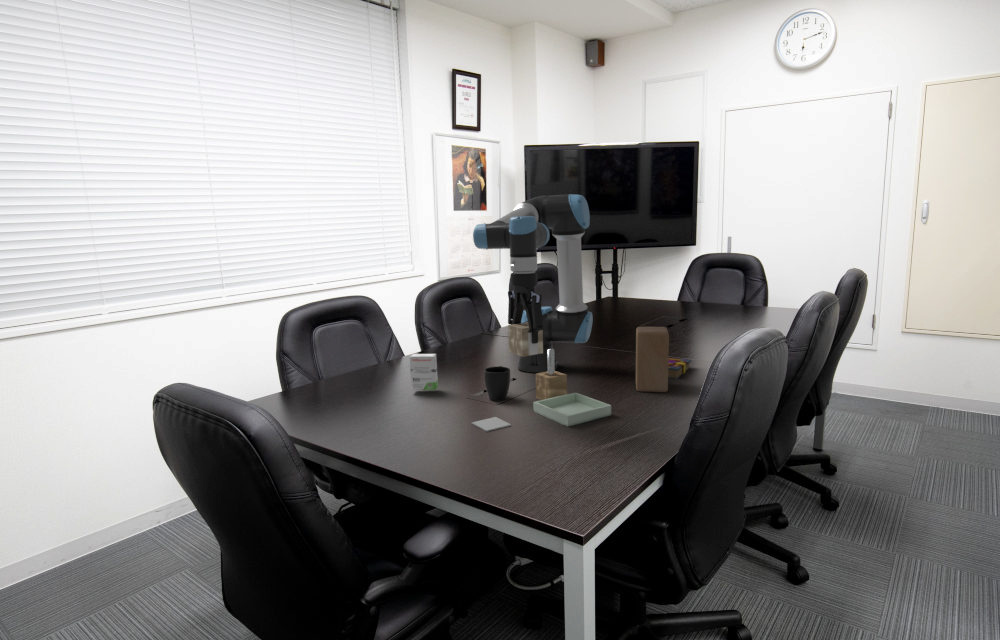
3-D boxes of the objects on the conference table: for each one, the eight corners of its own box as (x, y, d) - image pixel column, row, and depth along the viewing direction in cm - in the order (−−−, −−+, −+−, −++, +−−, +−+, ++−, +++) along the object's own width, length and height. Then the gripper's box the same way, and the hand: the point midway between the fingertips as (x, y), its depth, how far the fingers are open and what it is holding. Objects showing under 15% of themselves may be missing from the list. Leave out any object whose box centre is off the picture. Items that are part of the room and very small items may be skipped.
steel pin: (546, 398, 189) (545, 349, 186) (552, 397, 190) (551, 348, 188) (550, 400, 187) (550, 350, 185) (556, 398, 188) (555, 349, 186)
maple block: (509, 352, 172) (508, 325, 171) (529, 348, 176) (528, 322, 174) (522, 356, 166) (521, 328, 165) (543, 353, 170) (542, 325, 168)
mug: (514, 391, 198) (514, 363, 196) (508, 402, 186) (507, 373, 184) (490, 390, 199) (489, 363, 198) (482, 401, 188) (481, 372, 186)
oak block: (536, 398, 190) (535, 373, 188) (553, 394, 193) (553, 370, 192) (549, 403, 184) (548, 378, 183) (567, 399, 188) (566, 374, 186)
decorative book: (645, 377, 212) (646, 363, 211) (661, 367, 225) (661, 354, 224) (677, 381, 205) (677, 367, 204) (691, 371, 218) (692, 357, 217)
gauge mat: (471, 423, 168) (471, 422, 168) (495, 418, 172) (495, 416, 172) (486, 431, 161) (486, 430, 161) (511, 425, 165) (510, 424, 165)
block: (668, 393, 191) (669, 332, 188) (636, 392, 193) (636, 331, 190) (665, 384, 201) (667, 326, 197) (635, 383, 203) (636, 326, 199)
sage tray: (533, 411, 177) (533, 402, 176) (575, 401, 185) (575, 392, 184) (567, 426, 163) (567, 416, 163) (611, 415, 172) (611, 405, 171)
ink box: (438, 386, 207) (437, 353, 205) (435, 390, 202) (434, 356, 200) (414, 386, 207) (412, 353, 205) (411, 390, 202) (409, 356, 200)
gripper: (494, 270, 173) (496, 347, 177) (533, 275, 157) (534, 360, 161) (515, 268, 177) (517, 344, 181) (556, 273, 160) (557, 356, 164)
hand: (525, 351), depth 171 cm, fingers closed on maple block, 7 cm apart
